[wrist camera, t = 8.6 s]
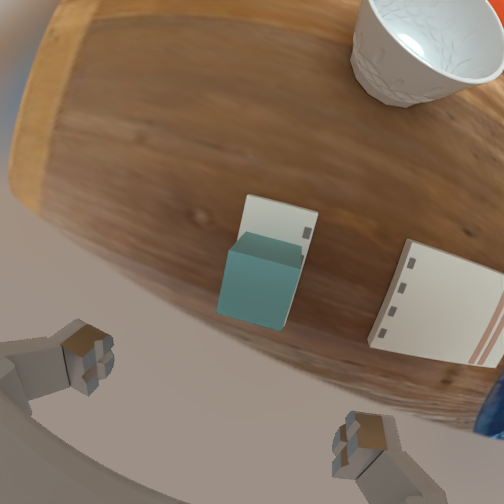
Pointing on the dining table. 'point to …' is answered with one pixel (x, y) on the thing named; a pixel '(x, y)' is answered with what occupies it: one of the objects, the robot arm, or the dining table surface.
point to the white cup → (425, 48)
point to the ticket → (442, 309)
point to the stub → (266, 262)
